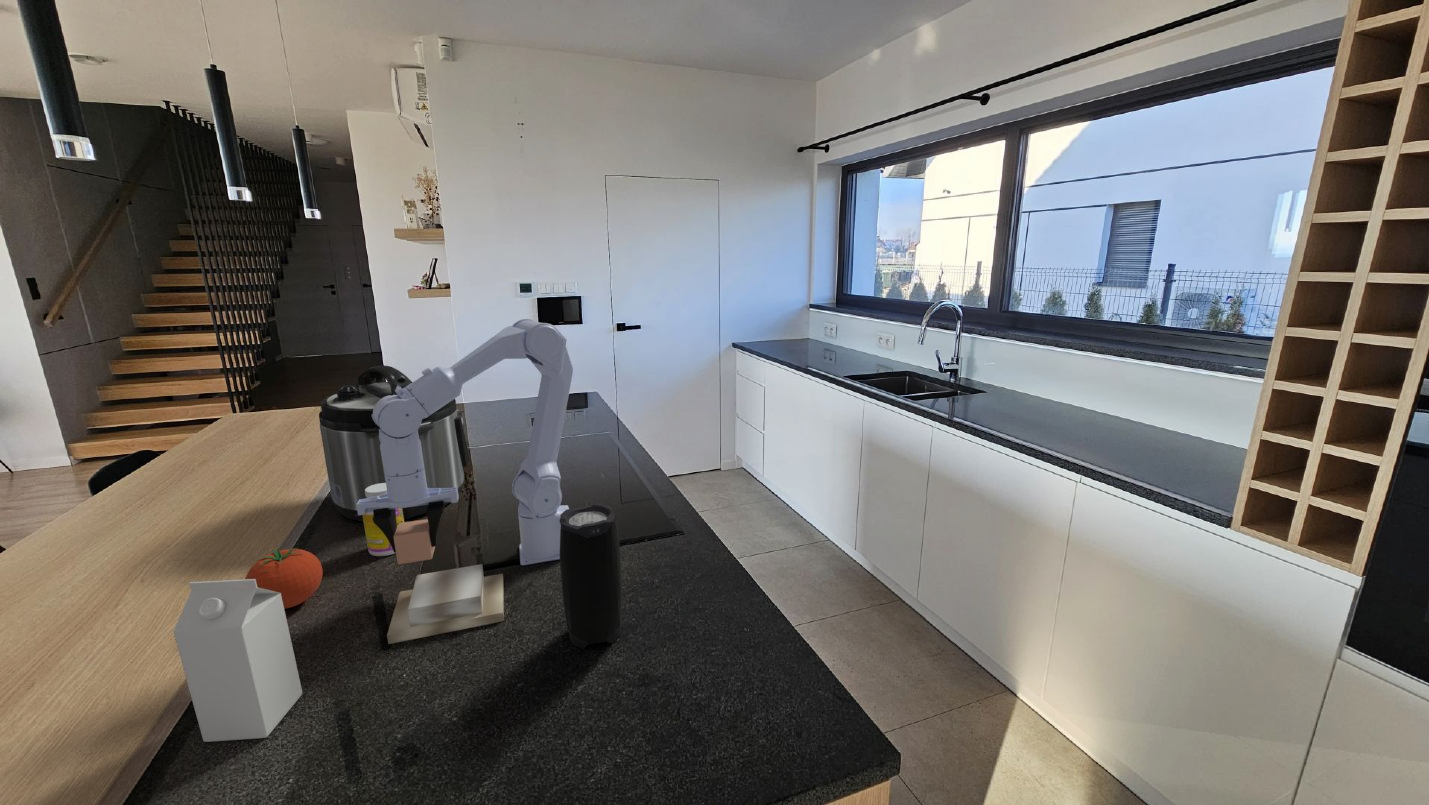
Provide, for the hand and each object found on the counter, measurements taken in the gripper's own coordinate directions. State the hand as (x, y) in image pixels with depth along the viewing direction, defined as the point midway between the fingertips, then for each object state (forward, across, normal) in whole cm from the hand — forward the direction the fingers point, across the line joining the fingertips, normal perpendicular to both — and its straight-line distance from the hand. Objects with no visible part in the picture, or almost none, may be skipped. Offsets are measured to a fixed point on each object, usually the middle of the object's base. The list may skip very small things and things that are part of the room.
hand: (416, 546), depth 96 cm
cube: (+2, 0, 0) cm, 2 cm away
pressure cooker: (+9, +9, -43) cm, 45 cm away
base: (+8, -5, +8) cm, 12 cm away
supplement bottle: (+9, +8, -18) cm, 22 cm away
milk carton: (+8, +16, +24) cm, 30 cm away
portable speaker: (+9, -26, +21) cm, 35 cm away
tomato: (+8, +20, -3) cm, 22 cm away
